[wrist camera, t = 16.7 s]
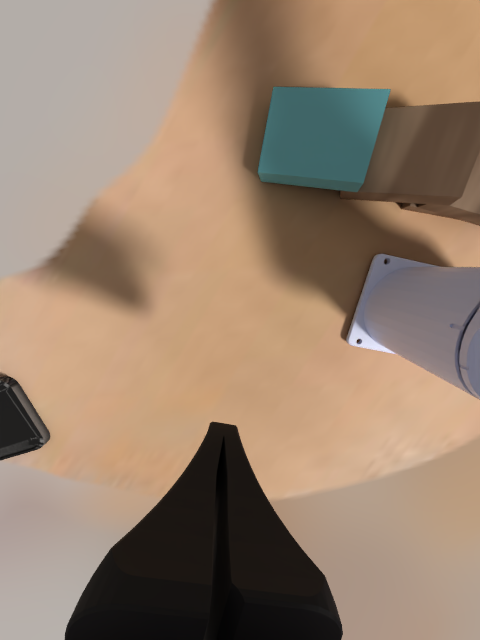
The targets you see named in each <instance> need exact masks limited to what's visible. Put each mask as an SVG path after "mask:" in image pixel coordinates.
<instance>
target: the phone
mask: <svg viewBox="0 0 480 640" xmlns="http://www.w3.org/2000/svg"><path fill="white" fill-rule="evenodd" d="M49 439H50V433H49V431H48V429H47V427H46V426H45V424H44V423H43V421H42V419H41V418H40V416H39V415H38V413H37V411H36V410H35V408H34V407H33V405H32V403H31V402H30V400H29V399H28V397H27V395H26V394H25V392H24V391H23V389H22V387H21V386H20V384H19V383H18V382H17V381H16V380H15V379H13V378H11V377H0V460H4V459H7V458H10V457H14V456H17V455H20V454H24V453H27V452H31V451H34V450H37V449H40V448H41V447H42V446H43V445H44V444H45V443H47V442H48V441H49Z"/></svg>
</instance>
